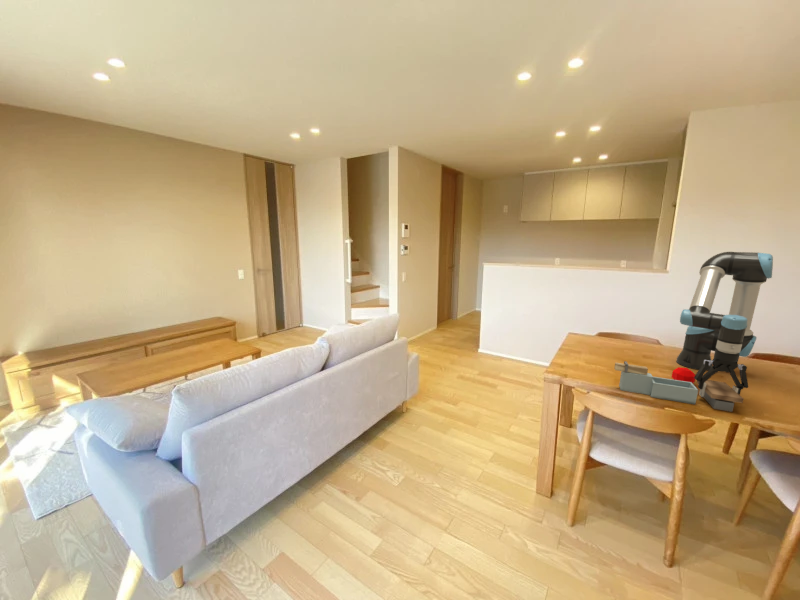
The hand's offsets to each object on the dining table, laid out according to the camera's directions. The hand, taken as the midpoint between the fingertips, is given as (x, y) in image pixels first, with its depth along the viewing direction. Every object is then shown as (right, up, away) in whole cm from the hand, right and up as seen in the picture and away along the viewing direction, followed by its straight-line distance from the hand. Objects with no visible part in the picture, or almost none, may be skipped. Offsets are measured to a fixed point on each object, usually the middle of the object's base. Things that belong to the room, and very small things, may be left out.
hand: (716, 398), depth 145 cm
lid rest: (0, -2, 0) cm, 2 cm away
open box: (-16, -1, +5) cm, 17 cm away
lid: (0, +3, -1) cm, 3 cm away
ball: (+1, +2, +18) cm, 19 cm away
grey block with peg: (-29, 0, +11) cm, 31 cm away
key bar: (-31, +10, +10) cm, 34 cm away
